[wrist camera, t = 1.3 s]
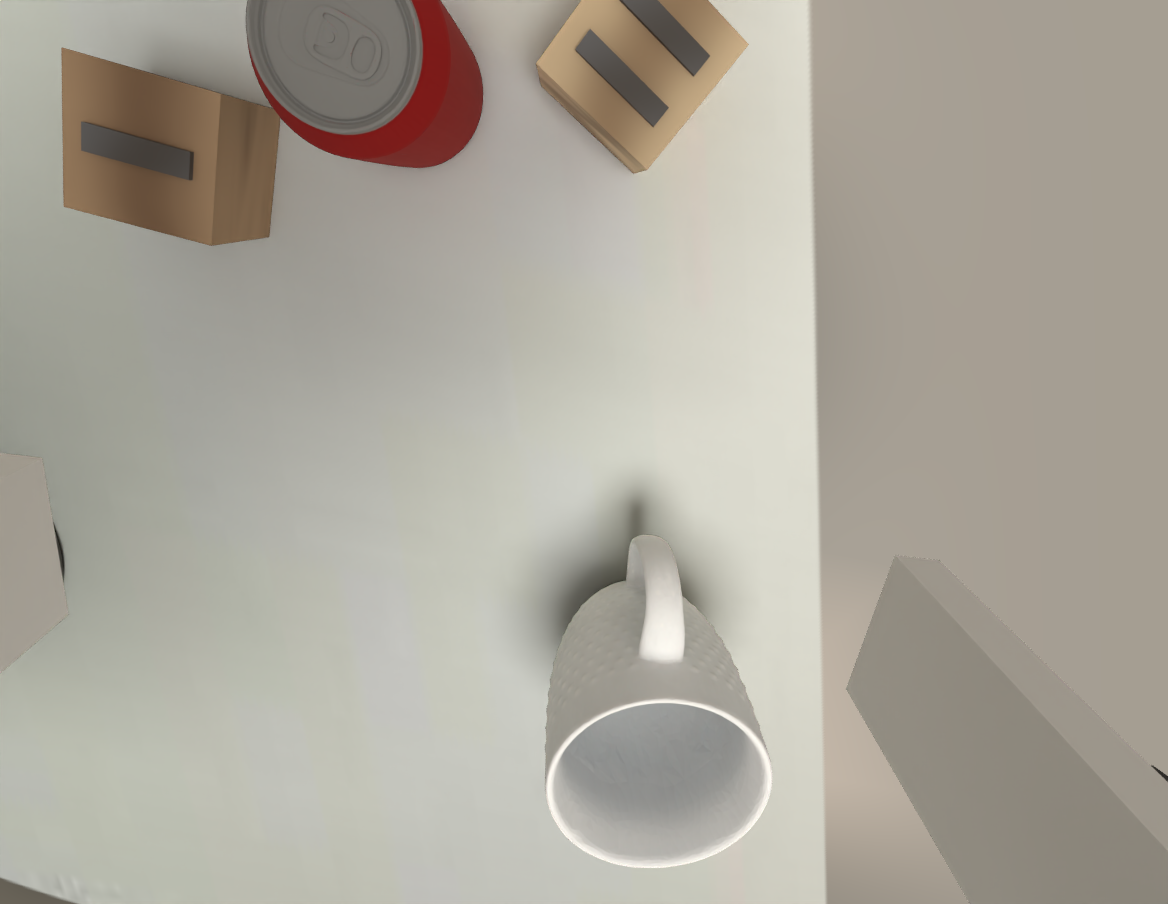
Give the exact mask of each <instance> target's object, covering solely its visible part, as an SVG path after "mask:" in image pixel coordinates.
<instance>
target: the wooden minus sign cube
mask: <svg viewBox="0 0 1168 904" xmlns="http://www.w3.org/2000/svg"><path fill="white" fill-rule="evenodd" d="M62 120H63V193H64V207H67V208H71V209H75V210H78V211H82V212H86V213H90V214H94V215H97V216H101V217H105V218H109V219H112V220H116V221H120V222H124V223H128V224H131V225H135V226H139V227H143V228H146V229H150V230H154V231H158V232H161V233H165V234H169V235H173V236H177V237H180V238H184V239H188V240H192V241H195V242H199V243H203V244H207V245H210V246H212V245H219V244H226V243H233V242H239V241H246V240H253V239H259V238H266V237H269V233H270V223H271V212H272V201H273V191H274V180H275V169H276V159H277V148H278V137H279V127H280V116H279V115H278V114H277V113H276V111H275V110H274V109H272V108H268V107H265V106H261V105H258V104H255V103H251V102H248V101H244V100H241V99H238V98H234V97H231V96H227V95H224V94H220V93H217V92H214V91H210V90H207V89H203V88H200V87H197V86H193V85H190V84H186V83H183V82H179V81H176V80H173V79H169V78H166V77H162V76H159V75H156V74H152V73H149V72H145V71H142V70H138V69H135V68H131V67H128V66H124V65H121V64H117V63H114V62H111V61H107V60H104V59H100V58H97V57H93V56H90V55H86V54H83V53H79V52H76V51H72V50H69V49H66V48H62Z"/></svg>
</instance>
